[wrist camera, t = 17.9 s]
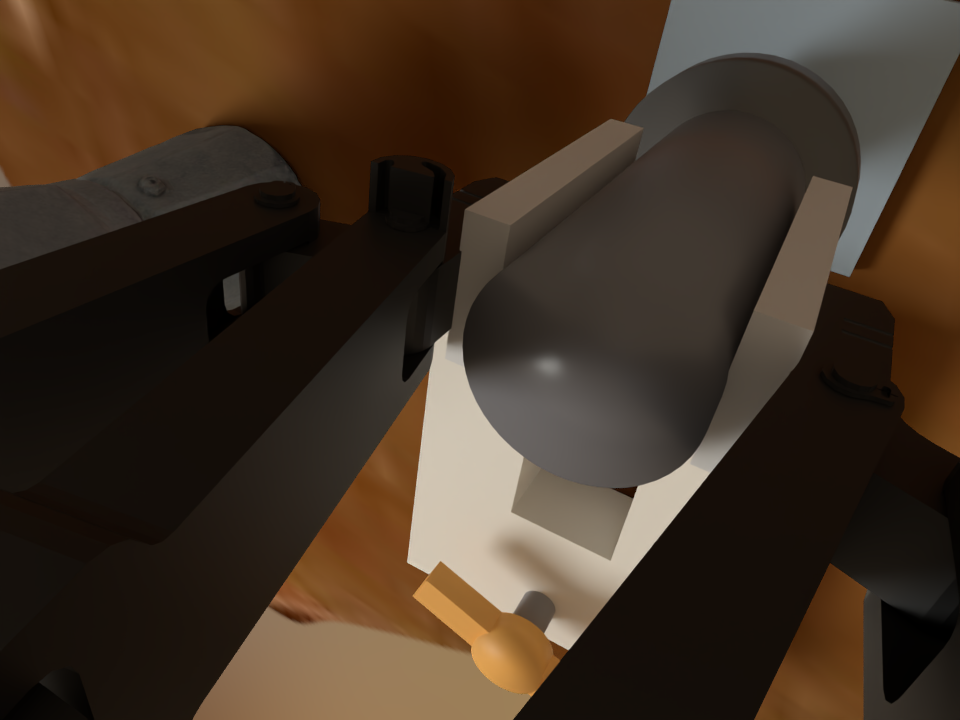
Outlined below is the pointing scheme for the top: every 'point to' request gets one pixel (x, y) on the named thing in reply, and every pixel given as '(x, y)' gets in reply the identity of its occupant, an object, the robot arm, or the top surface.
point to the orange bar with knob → (490, 632)
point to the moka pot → (136, 193)
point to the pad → (836, 72)
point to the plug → (656, 274)
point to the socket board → (526, 516)
